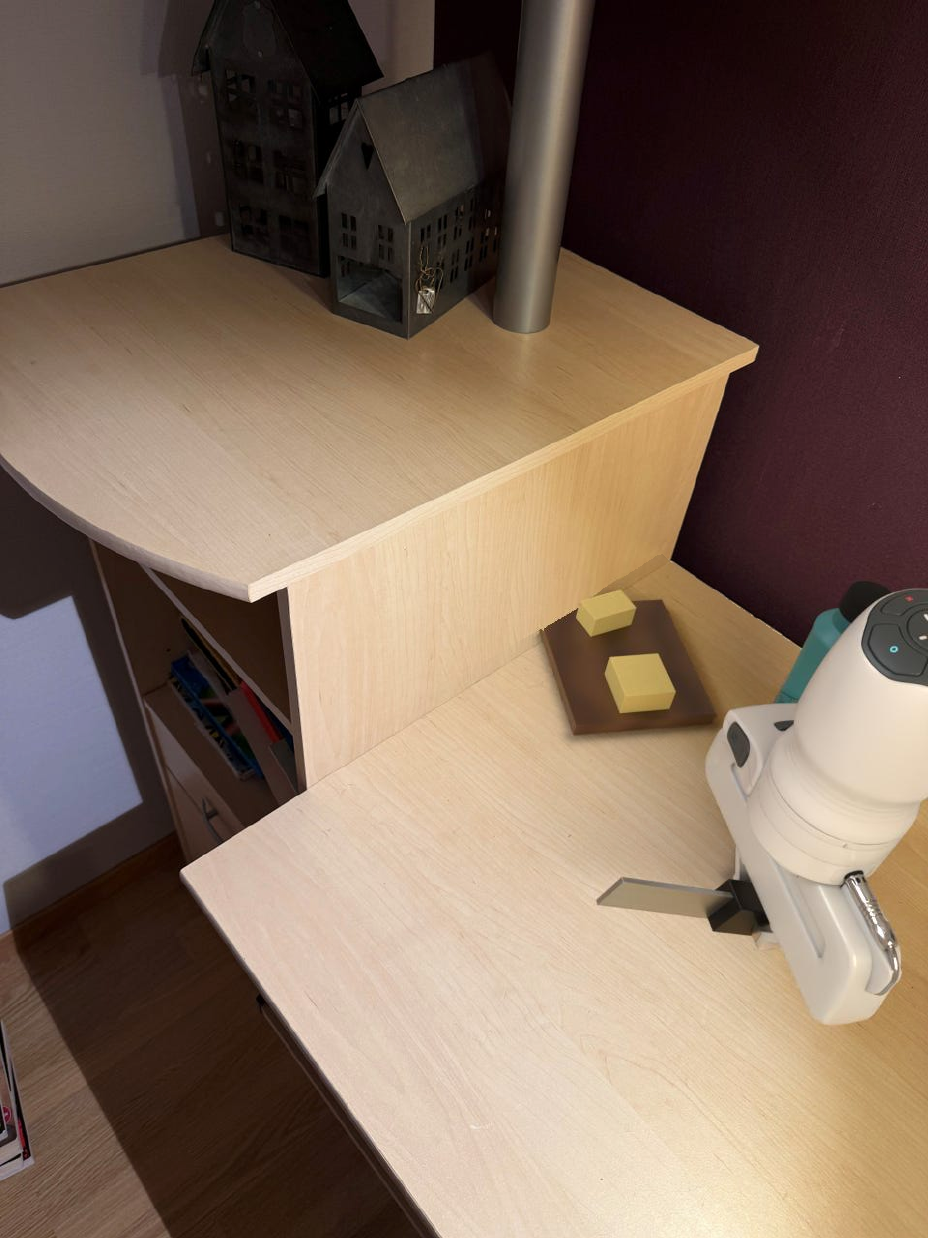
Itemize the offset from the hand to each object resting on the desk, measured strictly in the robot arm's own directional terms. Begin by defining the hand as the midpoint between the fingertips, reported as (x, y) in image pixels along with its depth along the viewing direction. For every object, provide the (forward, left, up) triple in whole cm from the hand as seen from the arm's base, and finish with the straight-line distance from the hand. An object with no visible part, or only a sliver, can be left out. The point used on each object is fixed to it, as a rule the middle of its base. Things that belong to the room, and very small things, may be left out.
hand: (752, 916), depth 67 cm
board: (0, -30, -6) cm, 31 cm away
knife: (+5, 0, +2) cm, 5 cm away
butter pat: (0, -35, -4) cm, 36 cm away
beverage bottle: (-14, -18, -6) cm, 24 cm away
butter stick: (0, -26, -4) cm, 26 cm away
